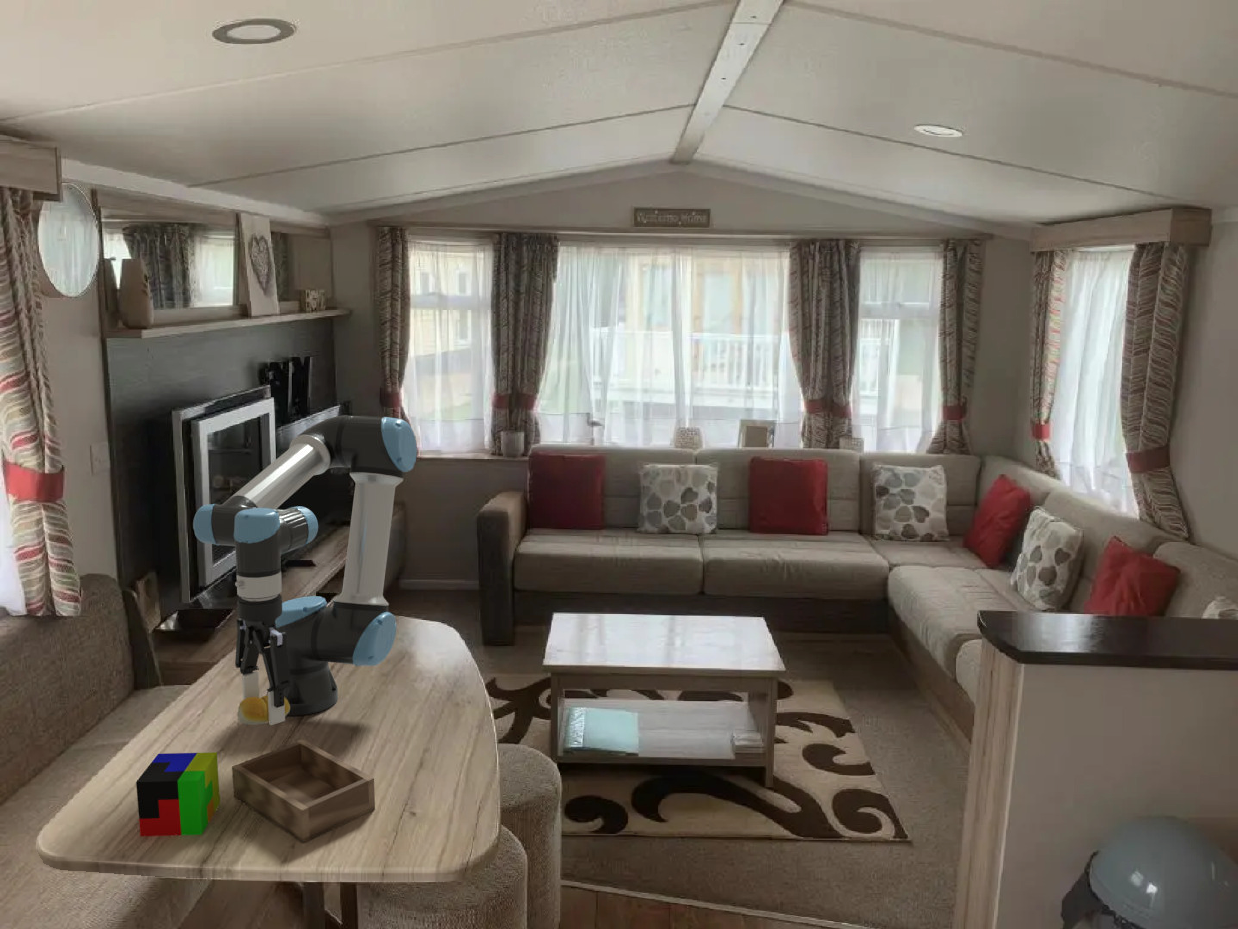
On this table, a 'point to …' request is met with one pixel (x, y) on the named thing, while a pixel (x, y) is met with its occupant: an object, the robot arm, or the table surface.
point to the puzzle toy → (178, 794)
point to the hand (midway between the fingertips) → (264, 714)
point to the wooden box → (303, 789)
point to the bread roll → (256, 710)
